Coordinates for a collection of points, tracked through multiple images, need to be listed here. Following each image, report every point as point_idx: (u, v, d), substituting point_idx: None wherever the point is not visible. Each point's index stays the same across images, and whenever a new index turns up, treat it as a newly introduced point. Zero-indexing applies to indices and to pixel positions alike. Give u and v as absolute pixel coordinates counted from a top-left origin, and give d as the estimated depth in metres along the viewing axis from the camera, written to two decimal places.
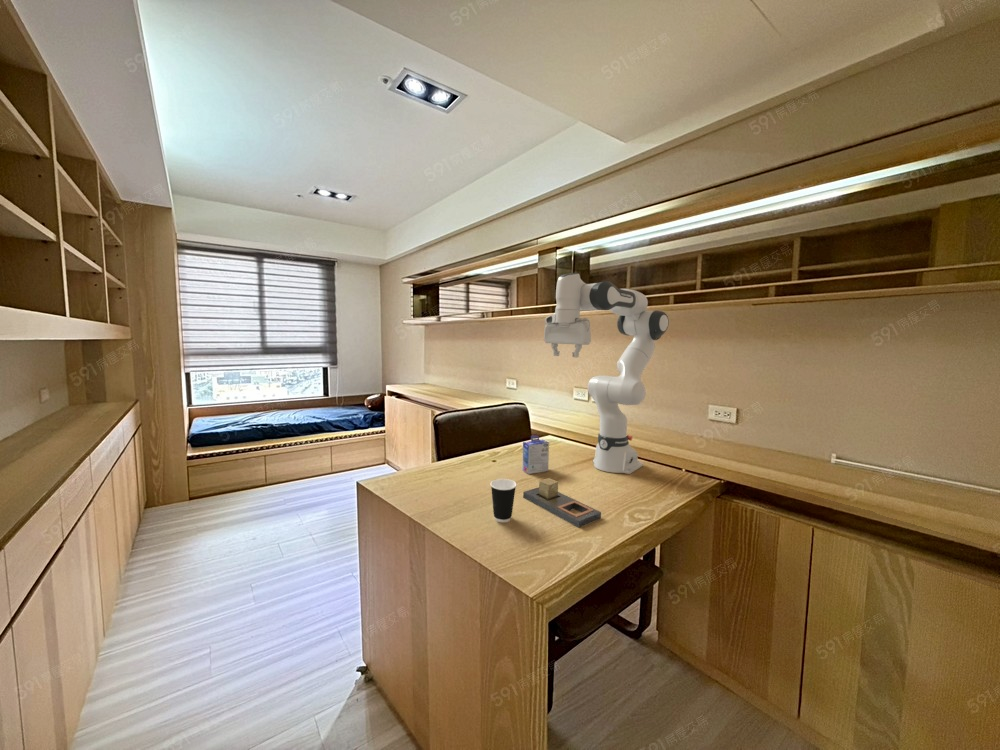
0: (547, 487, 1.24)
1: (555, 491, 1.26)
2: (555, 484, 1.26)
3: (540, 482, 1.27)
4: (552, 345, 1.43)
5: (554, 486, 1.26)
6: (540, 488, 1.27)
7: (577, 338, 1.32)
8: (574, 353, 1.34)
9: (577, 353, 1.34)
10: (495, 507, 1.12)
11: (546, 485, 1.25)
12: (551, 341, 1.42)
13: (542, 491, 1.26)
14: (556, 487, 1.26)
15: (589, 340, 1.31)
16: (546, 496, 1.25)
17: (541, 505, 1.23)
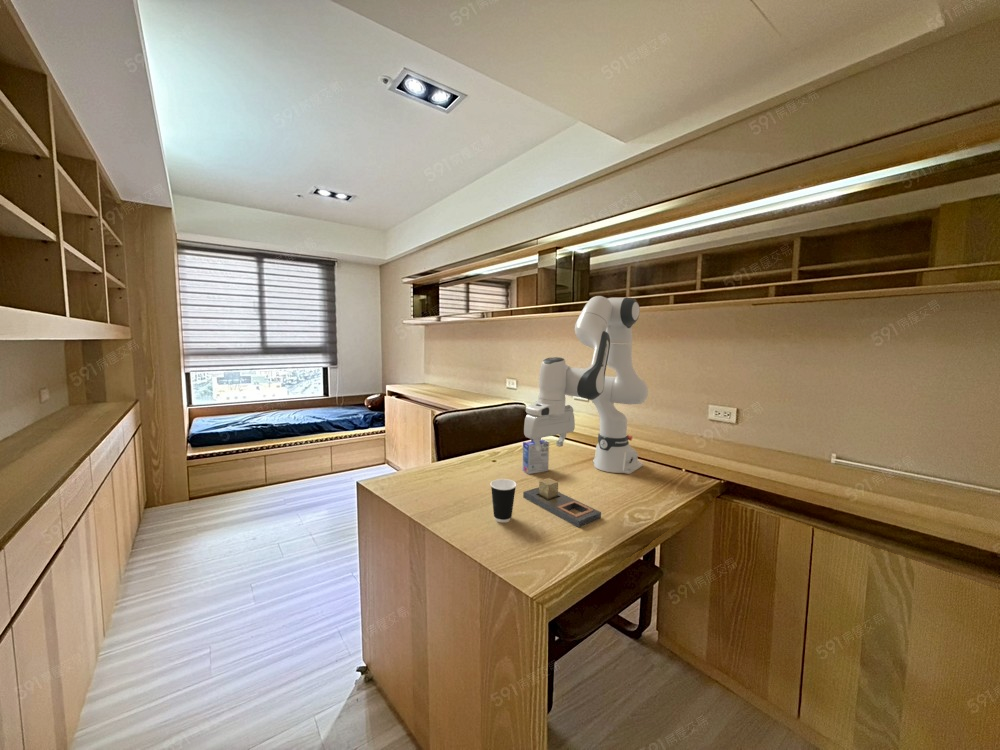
0: (547, 487, 1.24)
1: (555, 491, 1.26)
2: (555, 484, 1.26)
3: (540, 482, 1.27)
4: (539, 440, 1.21)
5: (554, 486, 1.26)
6: (540, 488, 1.27)
7: (569, 426, 1.28)
8: (562, 442, 1.28)
9: None
10: (495, 507, 1.12)
11: (546, 485, 1.25)
12: (541, 435, 1.20)
13: (542, 491, 1.26)
14: (556, 487, 1.26)
15: None
16: (546, 496, 1.25)
17: (541, 505, 1.23)
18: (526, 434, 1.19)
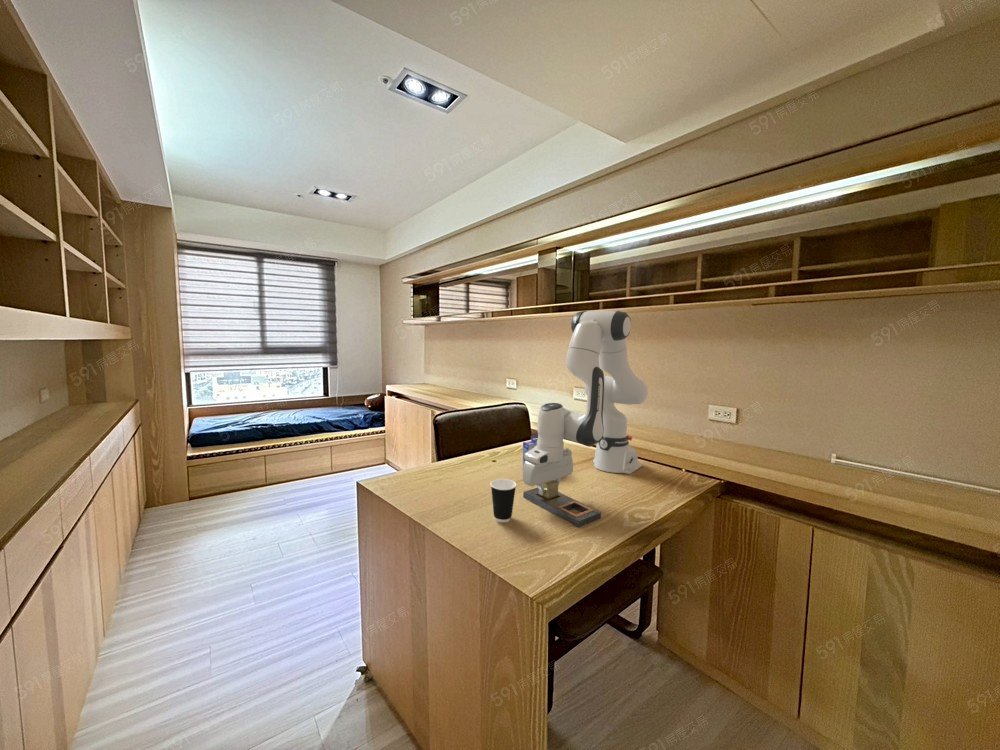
0: (547, 487, 1.24)
1: (555, 491, 1.26)
2: (555, 483, 1.26)
3: None
4: (541, 484, 1.24)
5: (554, 485, 1.26)
6: None
7: (567, 470, 1.29)
8: None
9: None
10: (495, 507, 1.12)
11: (546, 485, 1.25)
12: (539, 482, 1.22)
13: None
14: (556, 487, 1.26)
15: None
16: (546, 496, 1.25)
17: (541, 505, 1.23)
18: (525, 481, 1.21)
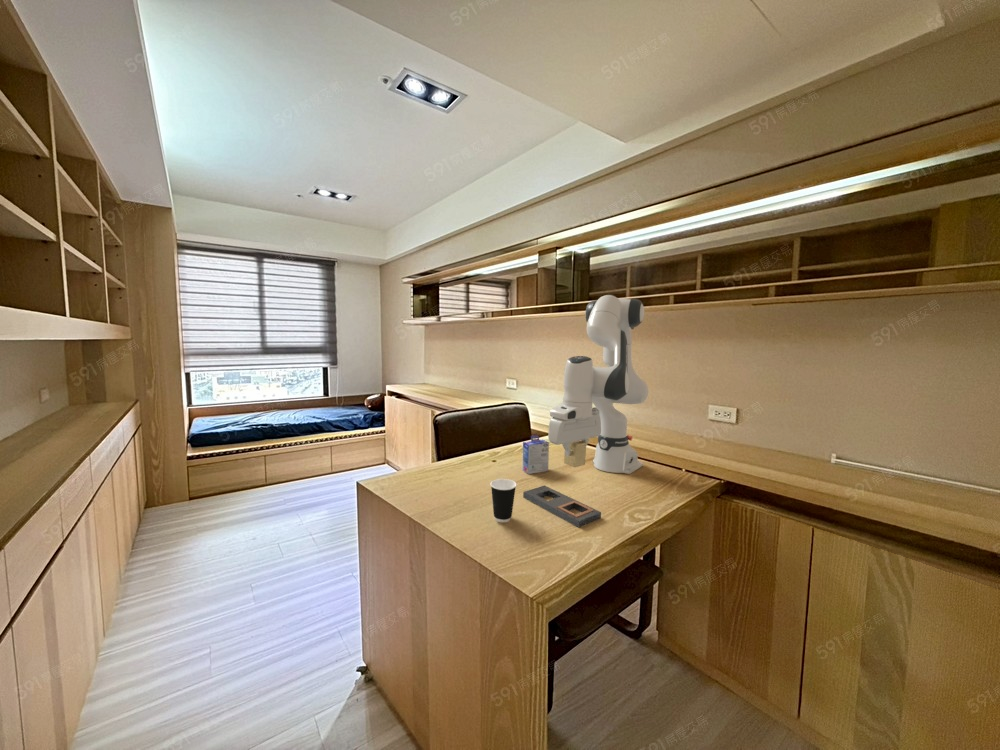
0: (574, 447, 1.14)
1: (583, 452, 1.15)
2: (582, 444, 1.15)
3: None
4: (568, 444, 1.13)
5: (582, 446, 1.15)
6: None
7: (595, 431, 1.19)
8: None
9: None
10: (495, 507, 1.12)
11: (573, 445, 1.14)
12: (567, 441, 1.11)
13: None
14: (584, 448, 1.16)
15: None
16: (573, 457, 1.14)
17: (541, 505, 1.23)
18: (551, 439, 1.10)
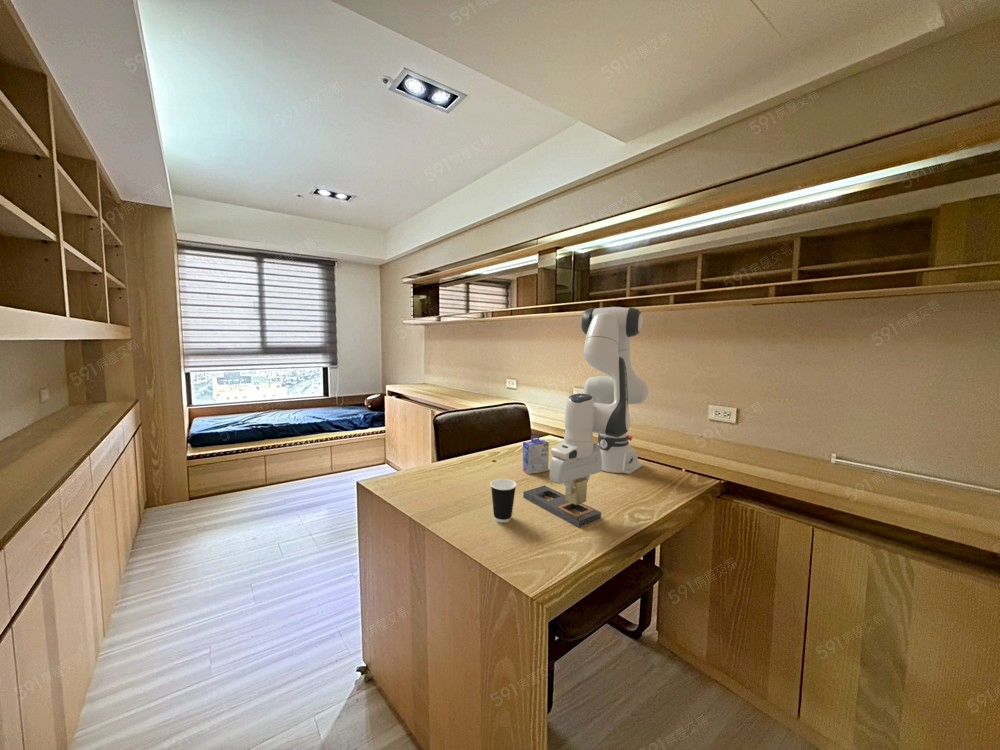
0: (575, 485, 1.14)
1: (584, 489, 1.16)
2: (583, 481, 1.15)
3: None
4: (569, 482, 1.13)
5: (583, 483, 1.15)
6: None
7: (596, 467, 1.19)
8: None
9: None
10: (495, 507, 1.12)
11: (574, 483, 1.14)
12: (568, 479, 1.12)
13: None
14: (585, 485, 1.16)
15: None
16: (575, 495, 1.15)
17: (541, 505, 1.23)
18: (552, 478, 1.11)
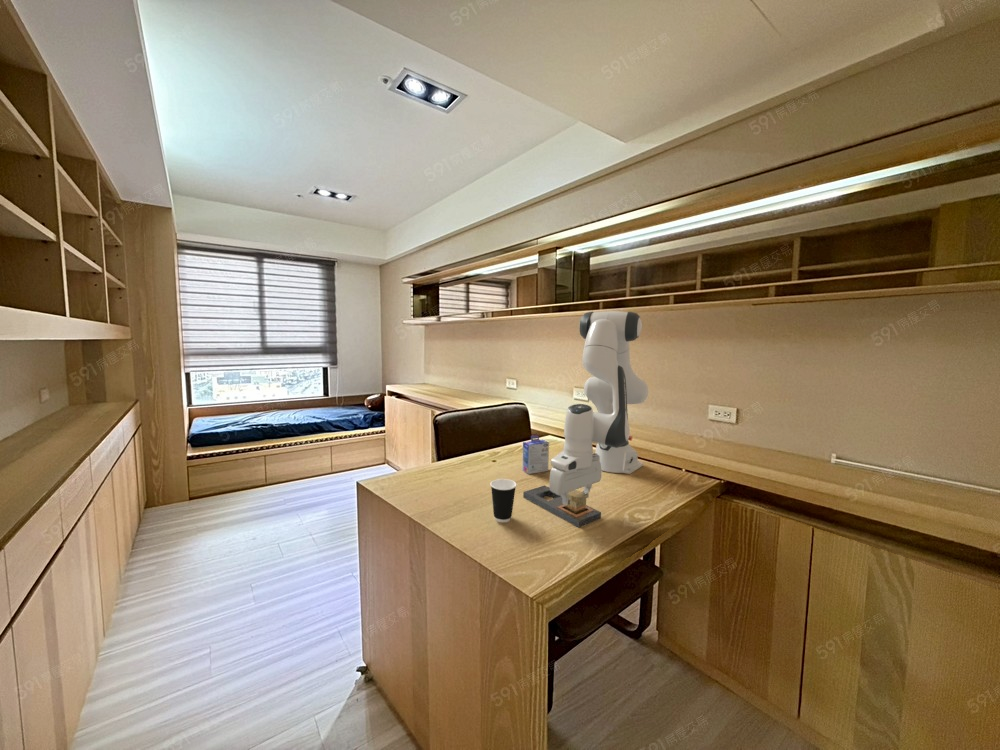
0: (574, 500, 1.15)
1: (583, 504, 1.17)
2: (583, 496, 1.16)
3: None
4: (566, 494, 1.13)
5: (582, 498, 1.16)
6: None
7: (595, 477, 1.20)
8: (587, 494, 1.19)
9: None
10: (495, 507, 1.12)
11: (574, 498, 1.15)
12: (567, 490, 1.12)
13: (569, 504, 1.17)
14: (584, 500, 1.17)
15: None
16: (574, 510, 1.15)
17: (541, 505, 1.23)
18: (552, 489, 1.11)
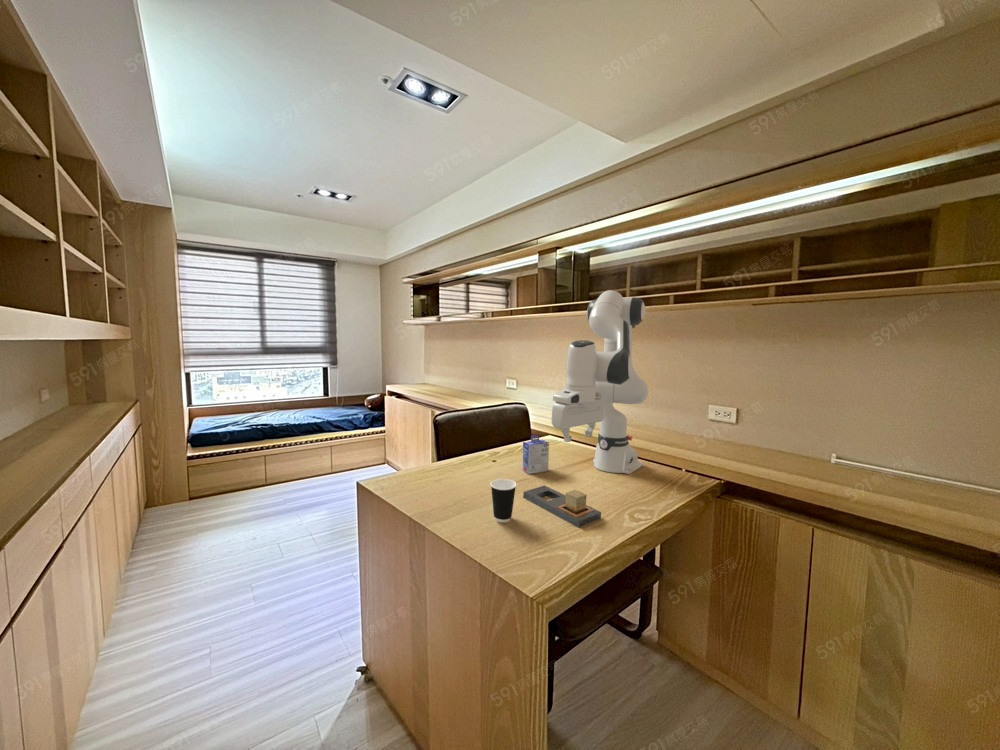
0: (574, 500, 1.15)
1: (583, 504, 1.17)
2: (583, 496, 1.16)
3: (567, 494, 1.17)
4: (567, 430, 1.11)
5: (583, 498, 1.16)
6: (567, 501, 1.18)
7: (598, 415, 1.18)
8: (591, 432, 1.18)
9: None
10: (495, 507, 1.12)
11: (574, 498, 1.15)
12: (570, 425, 1.11)
13: (569, 504, 1.17)
14: (584, 500, 1.17)
15: None
16: (574, 510, 1.15)
17: (541, 505, 1.23)
18: (554, 424, 1.10)
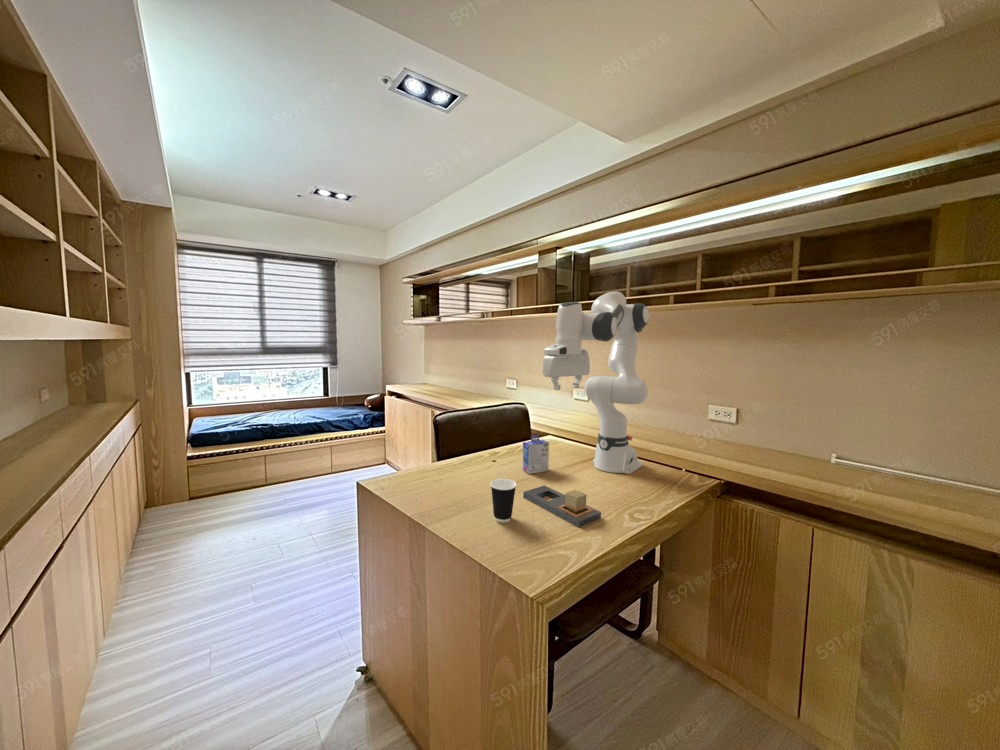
0: (574, 500, 1.15)
1: (583, 504, 1.17)
2: (583, 496, 1.16)
3: (567, 494, 1.17)
4: (557, 379, 1.27)
5: (583, 498, 1.16)
6: (567, 501, 1.18)
7: (584, 369, 1.34)
8: (578, 384, 1.34)
9: None
10: (495, 507, 1.12)
11: (574, 498, 1.15)
12: (559, 374, 1.27)
13: (569, 504, 1.17)
14: (584, 500, 1.17)
15: None
16: (574, 510, 1.15)
17: (541, 505, 1.23)
18: (545, 373, 1.26)
